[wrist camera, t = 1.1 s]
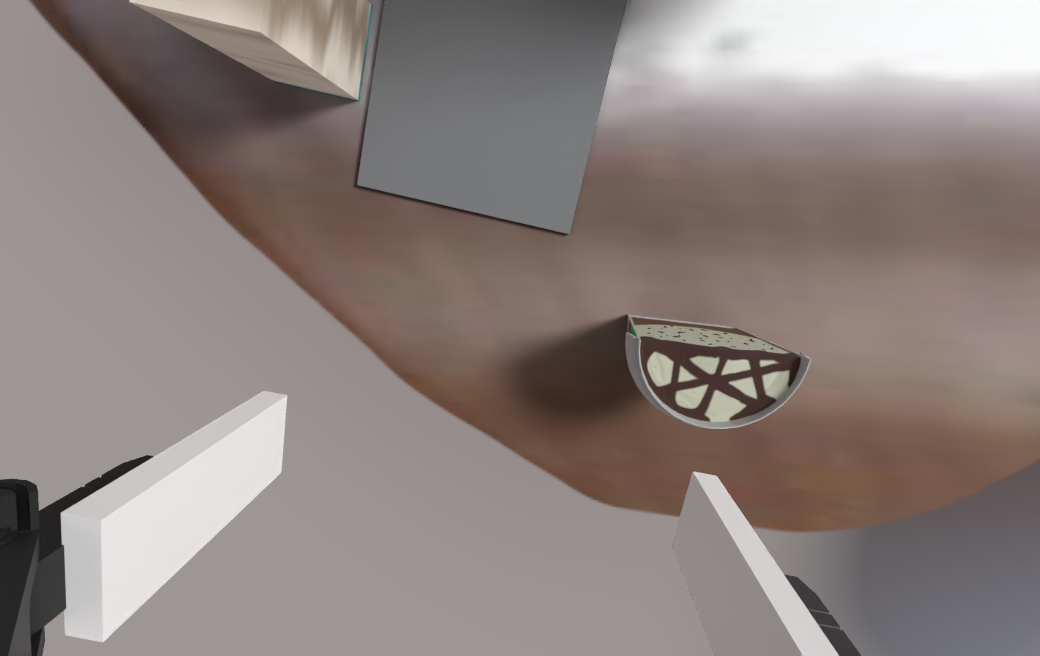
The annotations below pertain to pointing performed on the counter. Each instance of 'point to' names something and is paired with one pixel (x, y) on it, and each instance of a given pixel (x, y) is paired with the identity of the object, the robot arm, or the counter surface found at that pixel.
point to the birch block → (281, 37)
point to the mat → (489, 103)
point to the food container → (710, 371)
